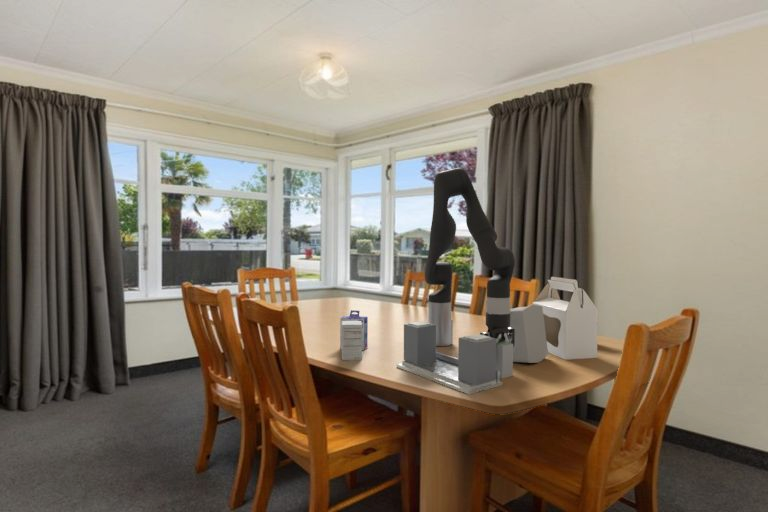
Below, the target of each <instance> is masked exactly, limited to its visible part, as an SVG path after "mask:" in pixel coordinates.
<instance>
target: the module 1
mask: <svg viewBox="0 0 768 512" xmlns="http://www.w3.org/2000/svg"><path fill="white" fill-rule="evenodd" d="M436 352H437V346H436V325H434V324H432V323H428V321H427V322H426V321H414V322H408V323H404V324H403V361H408V362H411V363H414V364H417V365H418V364H423V363H428V362H432V361H436Z"/></svg>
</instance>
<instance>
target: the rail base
mask: <svg viewBox="0 0 768 512" xmlns="http://www.w3.org/2000/svg"><path fill="white" fill-rule="evenodd" d="M397 367H398V368H397ZM396 368H397V369H399V370H402V369H403V371H405V370H406V371H405V372H408V371H409V372H408V373H410V372H412V373H411V374H413V373H414V374H413V375H415V374H417V375H416V376H418V375H420V376H419V377H421V376H423V377H425V378H424V379H426V378H428V379H427V380H429V379H430V380H429V381H431V380H433V381H432V382H434V381H436V382H438V383H437V384H439V383H440V384H439V385H442V384H443V385H442V386H444V385H445V387H447V386H448V387H447V388H450V389H452V388H453V390H455V389H456V390H455V391H457V390H458V392H460V391H461V392H460V393H463V392H464V393H463V394H465V393H466V394H465V395H468V394H471V395H473V393H474V394H477V393H480V392H479V391H481V392H483V391H482V390H484V391H486V390H491V389H493V388H498V387H500V386H503V381H501V378H500V371H499V370H496V380H495V381H491V382H488V383H484V384H480V385H477V386H476V385H474V384H471V383H468V382H465V381H462V380H459V379H458V357H455V356H452V355H449V354H445V353H442V352H439V351H436V361H432V362H428V363H423V364H418V365H417V364H414V363H411V362H408V361H405V360H402V361H401V363H397V364H396ZM423 377H422V378H423ZM436 382H435V383H436ZM490 388H491V389H490ZM476 392H477V393H476Z"/></svg>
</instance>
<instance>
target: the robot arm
mask: <svg viewBox="0 0 768 512" xmlns="http://www.w3.org/2000/svg"><path fill="white" fill-rule="evenodd" d="M457 196H461V197H463V199H464V201H465V205H466V214H465V215H466V218H465V219H466V222H465V223H466V227H467V228H468V229H467V230H468V232H469V233H470V235H471V237H472V239H473V240H474V241H475V243H476V246H477V250H478V254H479V257H480V259H481V262H482V264H483V265H484V266H485V268H487V269H489V270H490V271H493V275H492V277H490V278H489V279H488V280H487V282H486V301H485V326H487V331H486V332H485V331H481V332H480V333H479V334H480V335H484V336H489V337H491V338H496V346H497V343H498V342H503V341H506V342H509V343H512V344H513V347H514V345H515V329H514V328H509V327H510V310H511V309H512V307H511V297H510V296H511V294H510V293H511V281H512V279H513V274H514V270H515V265H516V264H515V262H516V261H515V255H514V253H513V251H512V250H511V249H510V248H508V247H498V246H497V244H496V241H497V239H498V235H497V231H496V230H495V228H494V226H493V225H492V223H491V222H490V220H489V219H488V218H487V216H486V213H485V212H484V209H483V207H482V205H481V203H480V200H479V197H478V195H477V192H476V190H475V188H474V185H473V183H472V181H471V178H470V176H469V174H468V172H467V171H466V170H465V169H464V168H462V167H455V168H451V169H447V170H442V171H439V172H437V173H436V175H435V177H434V181H433V208H432V210H433V211H432V217H431V225H430V232H429V245H428V246H429V247H428V251H427V252H428V253H427V259H426V264H425V268H424V280H425V283H426V284H427V285H431V286H432V285H433V286H438V285H439V286H440V285H441V286H442V287H441V288H439V290H437V291H434V292H431V293H429V294H428V298H427V303H428V304H427V307H428V309H427V311H428V313H427V315H428V316H427V323H432V324H434V325H436V347H446V346H447V347H448V346H450V345H452V344H453V343H454V341H453V340H454V339H453V338H454V337H453V336H454V333H453V332H454V331H453V330H454V329H453V328H454V325H453V324H454V321H453V319H452V290H453V289H452V287H453V284H452V283H453V266H452V264H451V263H450V262H449V261H439V259H440V258H441V257H442V256H443V255H444V254H445V253H446V252H447V251H448V250H449V249H450V248H451V247H452V246H453V244H454V242H455V239H456V237H455V236H456V232H457V223H456V220H455V218H454V217H453V216H452V215H451V213H450V211H449V209H448V208H449V207H448V206H449V205H448V203H449V199H450V198H454V197H457ZM510 339H511V342H510Z"/></svg>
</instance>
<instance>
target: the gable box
mask: <svg viewBox="0 0 768 512" xmlns="http://www.w3.org/2000/svg"><path fill="white" fill-rule="evenodd" d="M547 282H548V283H547V284H546V285H545V286H544V287H543V288H542V290H541V291H540V292H539V294H538V295H537V296H536V298H534V301H532V304H531V305H538V306H542V308H543V316H544V324H545V332H546V340H547V348H548V354H551V355H553V356H556V357H558V358H559V359H563V360H565V361H566V360H567V361H568V360H585V359H586V360H587V359H597V358H598V335H599V334H598V331H599V328H598V326H599V322H598V321H599V310H598V308H597V306H595V304H594V303H593V301H592V300H591V298H590V297H589V295H588V294H587V292H586V291H585V290H584V289H583V288H580V287H579V286H580V284H579V280H577V279H574V278H566V277H560V276H559V277H558V276H551V277H550V279H547ZM558 290H559V291H565V292H572V295H571V297H570V299H569V301H568V300H564V299H561V298H560V294H559V292H558Z"/></svg>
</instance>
